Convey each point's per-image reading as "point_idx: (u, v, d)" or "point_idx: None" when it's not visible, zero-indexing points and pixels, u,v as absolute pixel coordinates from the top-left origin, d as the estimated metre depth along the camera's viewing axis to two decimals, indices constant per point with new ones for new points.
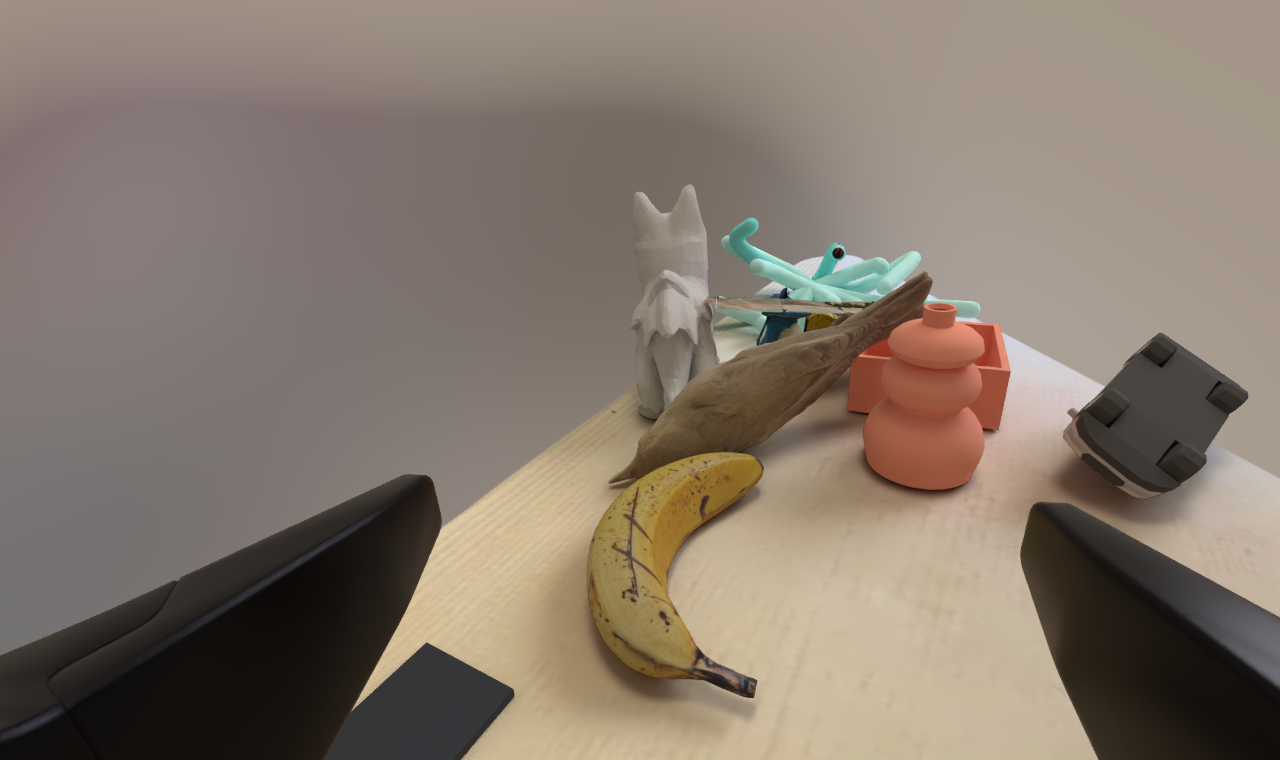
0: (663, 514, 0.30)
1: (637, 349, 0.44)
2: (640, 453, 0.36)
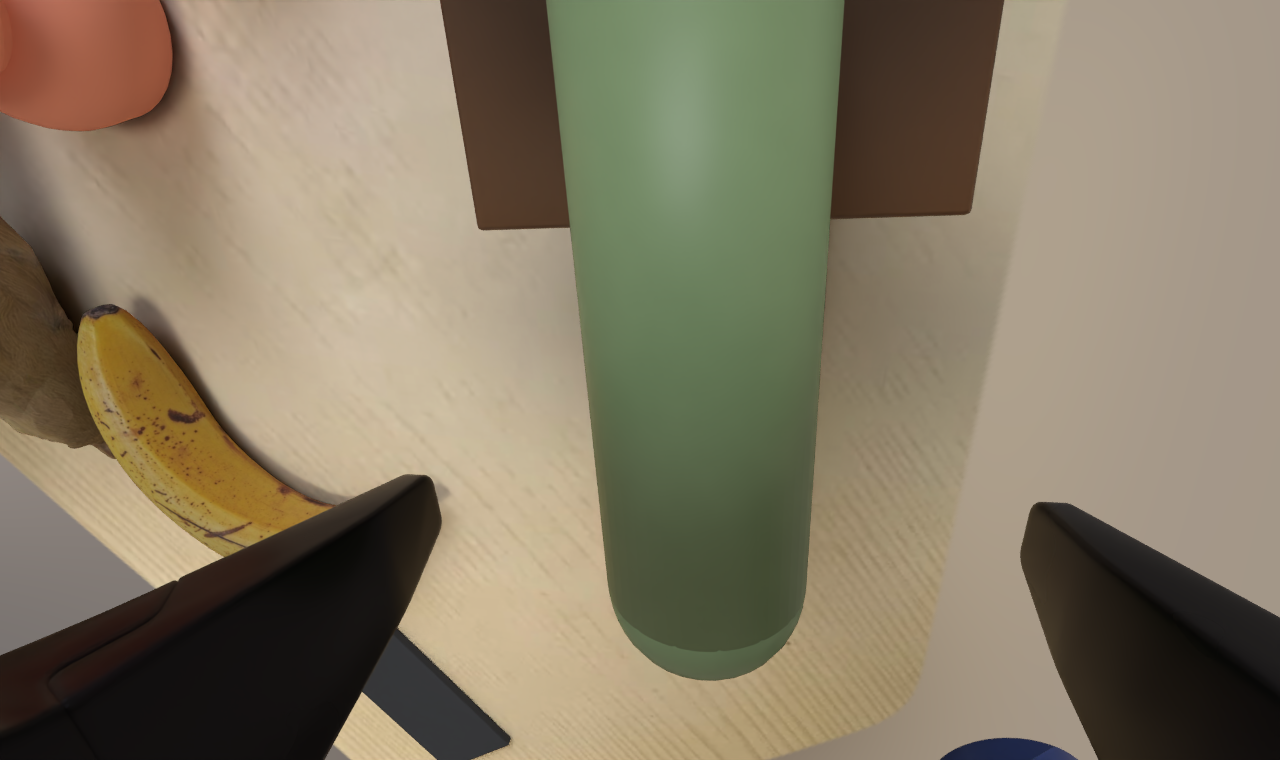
0: (205, 492, 0.25)
1: None
2: (72, 447, 0.26)
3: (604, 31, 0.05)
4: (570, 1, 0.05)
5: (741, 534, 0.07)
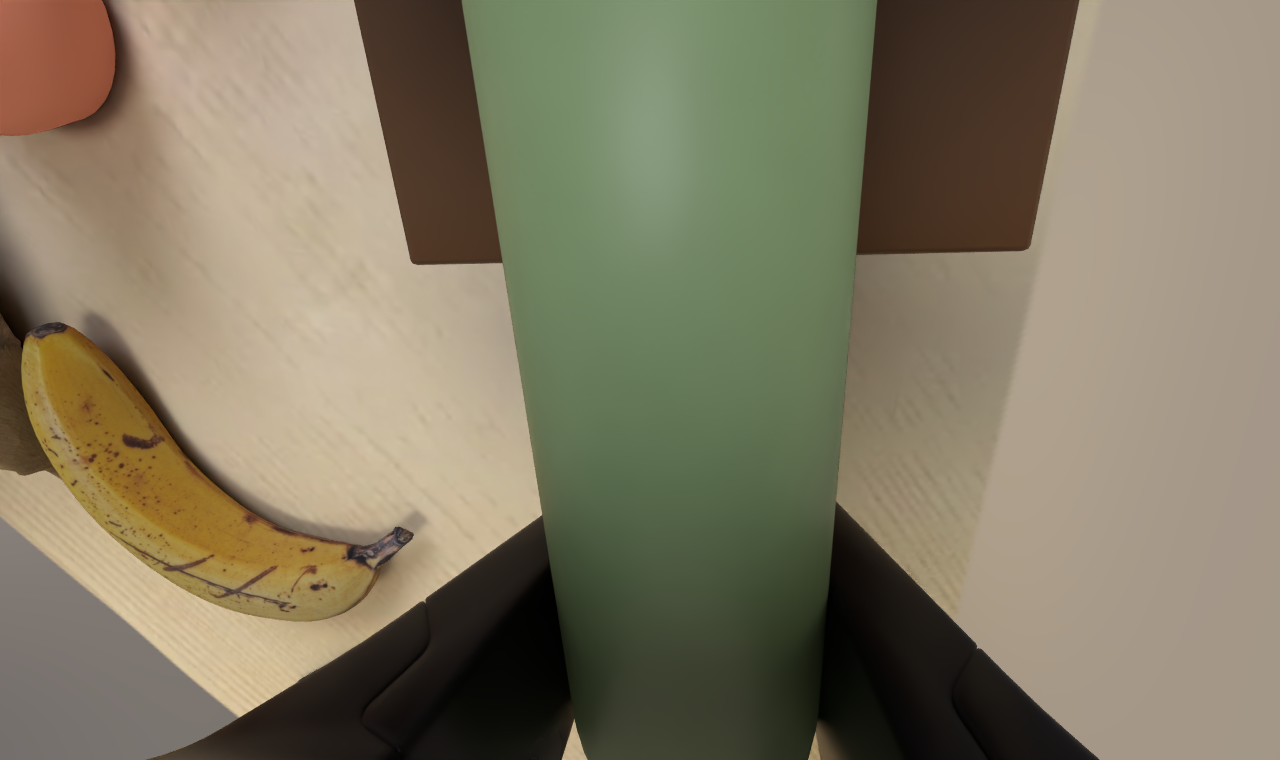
0: (164, 523, 0.23)
1: None
2: (22, 474, 0.24)
3: (526, 6, 0.04)
4: None
5: (736, 680, 0.05)
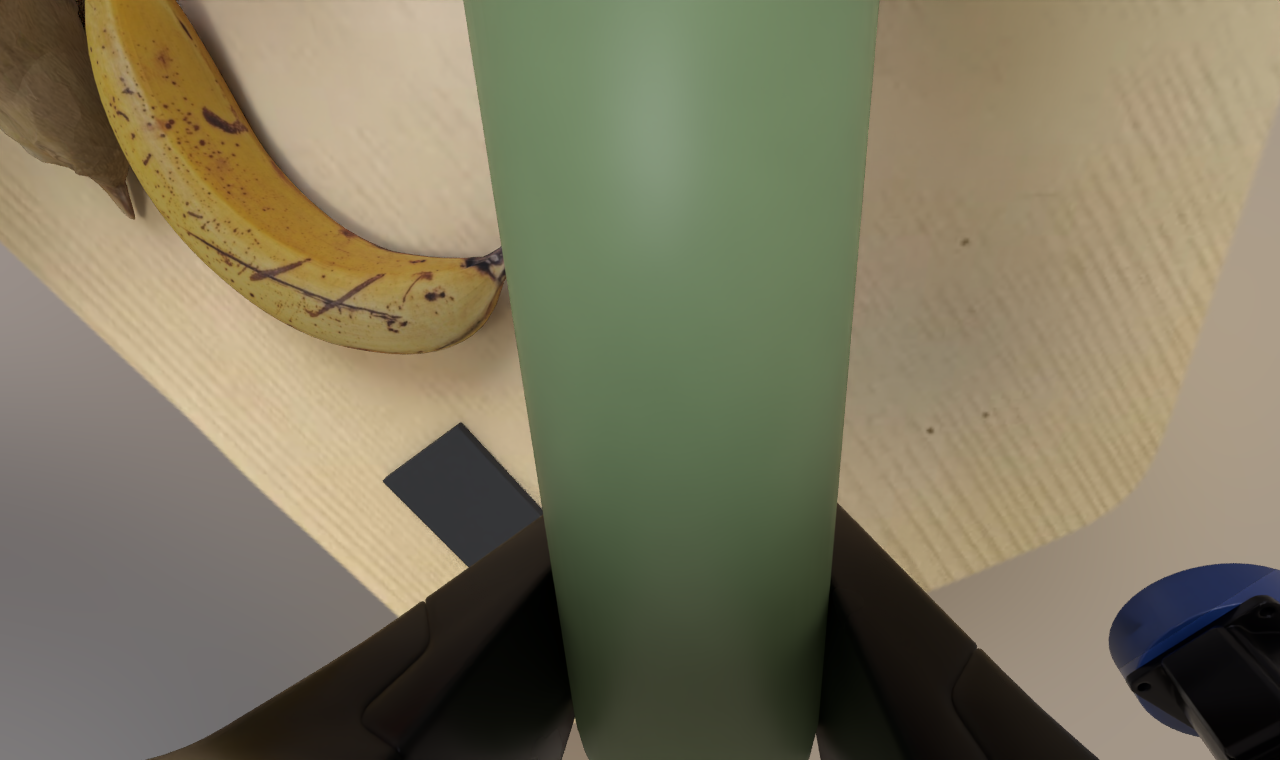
0: (252, 217, 0.20)
1: None
2: (81, 174, 0.20)
3: (528, 0, 0.04)
4: None
5: (738, 678, 0.05)
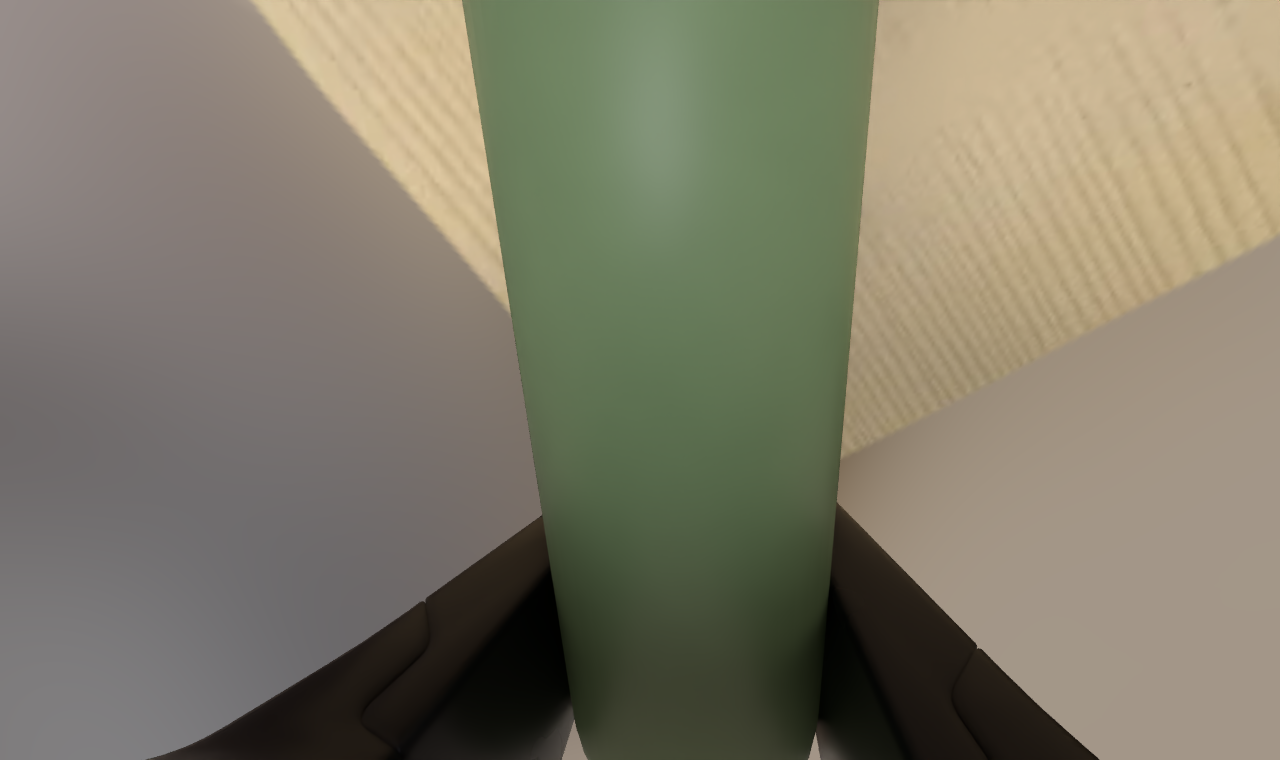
0: None
1: None
2: None
3: None
4: None
5: (737, 678, 0.05)
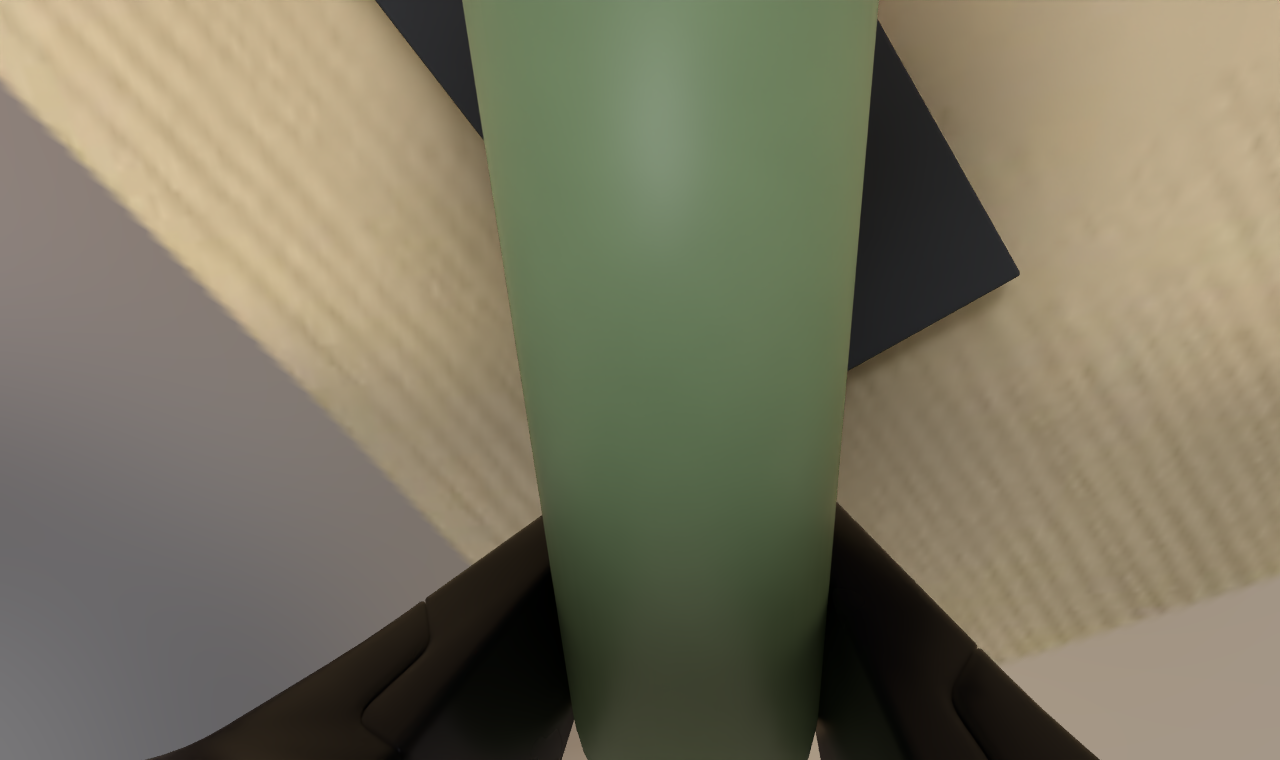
0: None
1: None
2: None
3: (528, 0, 0.04)
4: None
5: (737, 679, 0.05)
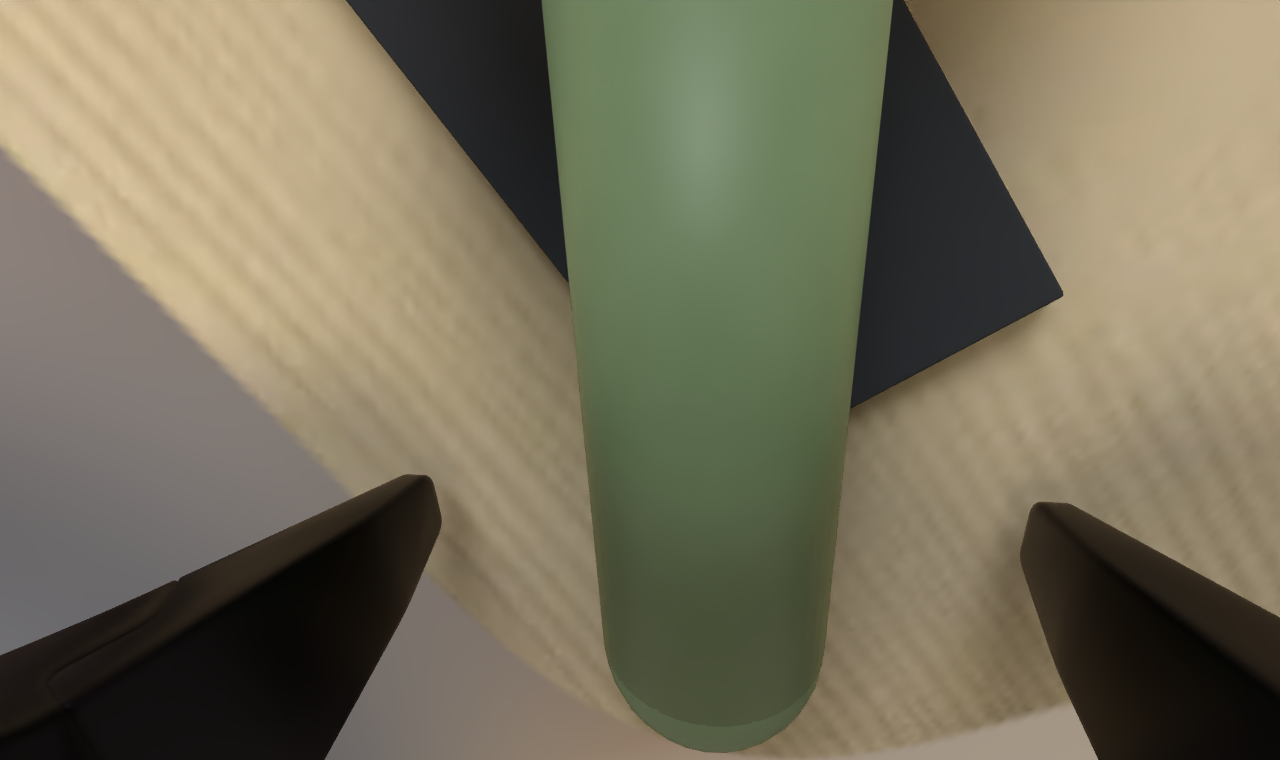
0: None
1: None
2: None
3: (644, 15, 0.04)
4: None
5: (783, 594, 0.06)
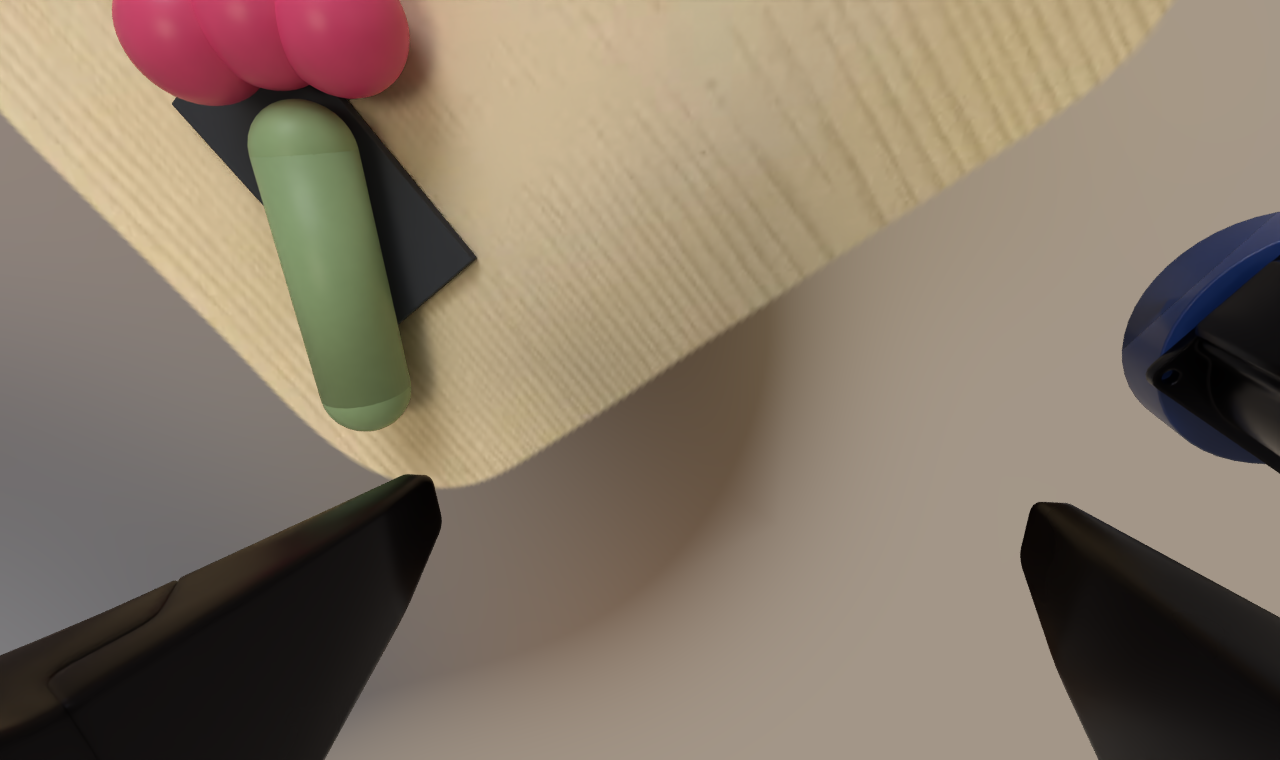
0: None
1: None
2: None
3: (268, 186, 0.18)
4: (258, 176, 0.18)
5: (354, 355, 0.20)
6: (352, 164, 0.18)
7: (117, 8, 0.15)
